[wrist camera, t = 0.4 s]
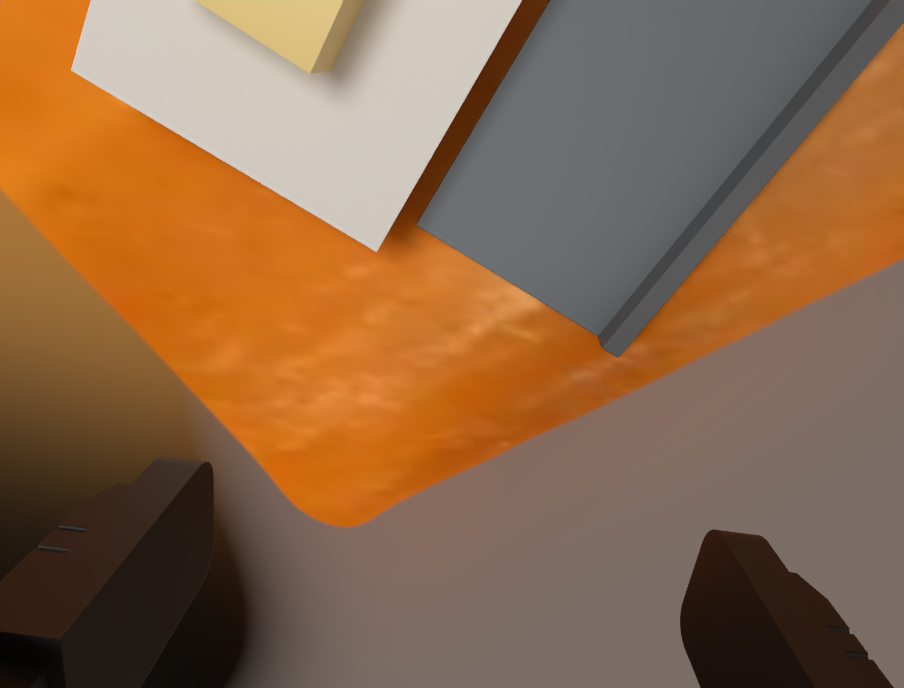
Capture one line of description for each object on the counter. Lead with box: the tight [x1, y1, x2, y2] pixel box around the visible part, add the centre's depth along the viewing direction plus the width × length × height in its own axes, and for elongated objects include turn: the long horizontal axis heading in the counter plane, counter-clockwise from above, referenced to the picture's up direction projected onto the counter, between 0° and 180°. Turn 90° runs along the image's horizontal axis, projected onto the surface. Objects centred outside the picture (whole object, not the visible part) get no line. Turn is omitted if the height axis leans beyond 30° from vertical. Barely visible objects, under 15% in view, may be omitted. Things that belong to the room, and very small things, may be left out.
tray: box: [416, 0, 904, 358], centre depth 27 cm, size 18×12×2 cm, turn 149°
